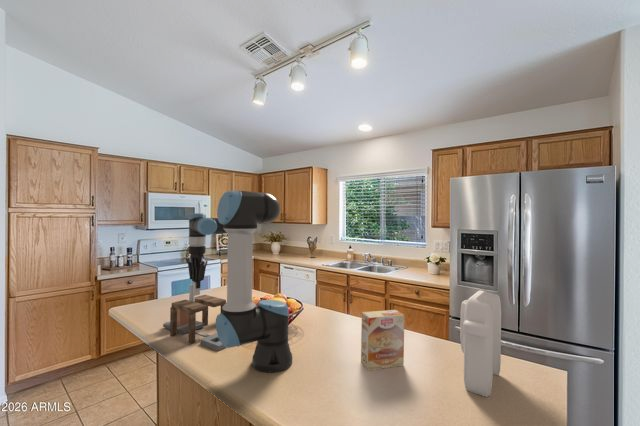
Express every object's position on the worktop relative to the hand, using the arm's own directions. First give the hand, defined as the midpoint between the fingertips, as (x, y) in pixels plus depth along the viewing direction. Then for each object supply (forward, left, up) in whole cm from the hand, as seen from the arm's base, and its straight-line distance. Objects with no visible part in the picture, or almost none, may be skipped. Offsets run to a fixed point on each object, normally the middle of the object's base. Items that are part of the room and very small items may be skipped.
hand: (196, 294), depth 147 cm
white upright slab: (-118, -29, -18) cm, 122 cm away
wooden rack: (+5, 0, -18) cm, 18 cm away
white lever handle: (+9, 0, -18) cm, 20 cm away
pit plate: (-20, 0, -18) cm, 26 cm away
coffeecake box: (-86, -21, -18) cm, 90 cm away
